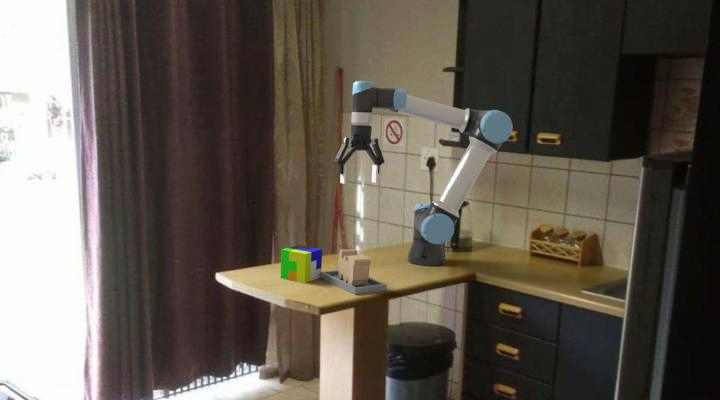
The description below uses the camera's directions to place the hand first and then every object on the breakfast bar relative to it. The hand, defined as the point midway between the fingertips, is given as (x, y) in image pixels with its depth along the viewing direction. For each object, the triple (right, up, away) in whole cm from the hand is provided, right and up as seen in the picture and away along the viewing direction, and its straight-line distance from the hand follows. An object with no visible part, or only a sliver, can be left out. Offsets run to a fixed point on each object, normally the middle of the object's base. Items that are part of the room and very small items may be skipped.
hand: (358, 183), depth 232 cm
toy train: (-2, -34, -19) cm, 39 cm away
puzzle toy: (-20, -33, -13) cm, 41 cm away
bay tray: (-2, -34, -19) cm, 39 cm away
